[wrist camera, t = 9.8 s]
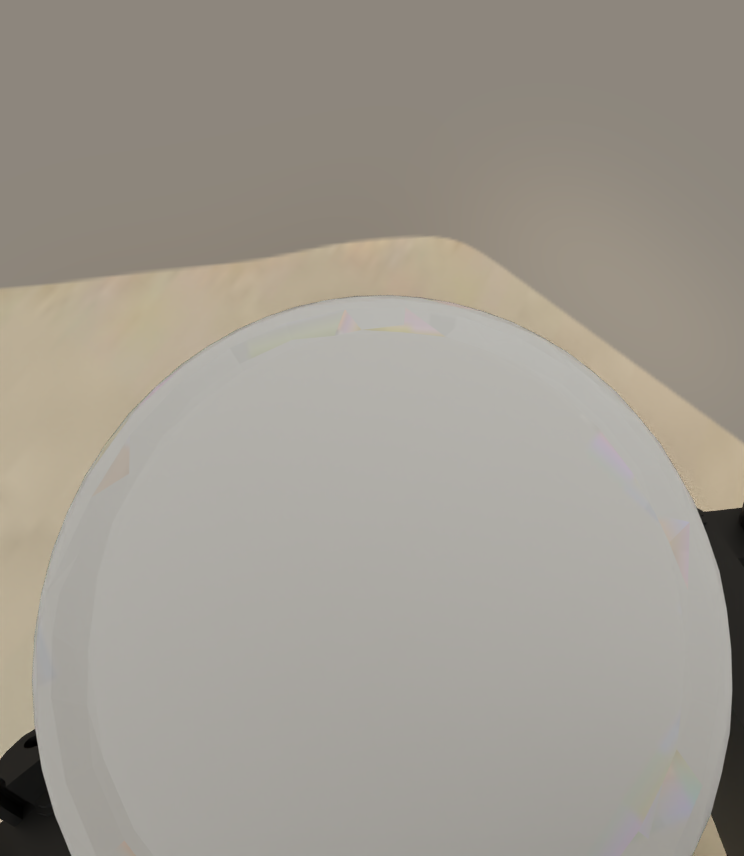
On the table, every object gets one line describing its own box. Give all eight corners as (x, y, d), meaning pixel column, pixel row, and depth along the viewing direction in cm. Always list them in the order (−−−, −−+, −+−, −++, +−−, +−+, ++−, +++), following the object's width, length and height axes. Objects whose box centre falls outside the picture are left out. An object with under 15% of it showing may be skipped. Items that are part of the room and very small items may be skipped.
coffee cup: (468, 722, 16) (802, 1159, 5) (205, 686, 16) (-156, 1060, 4) (486, 466, 19) (733, 328, 7) (261, 431, 18) (132, 226, 7)
